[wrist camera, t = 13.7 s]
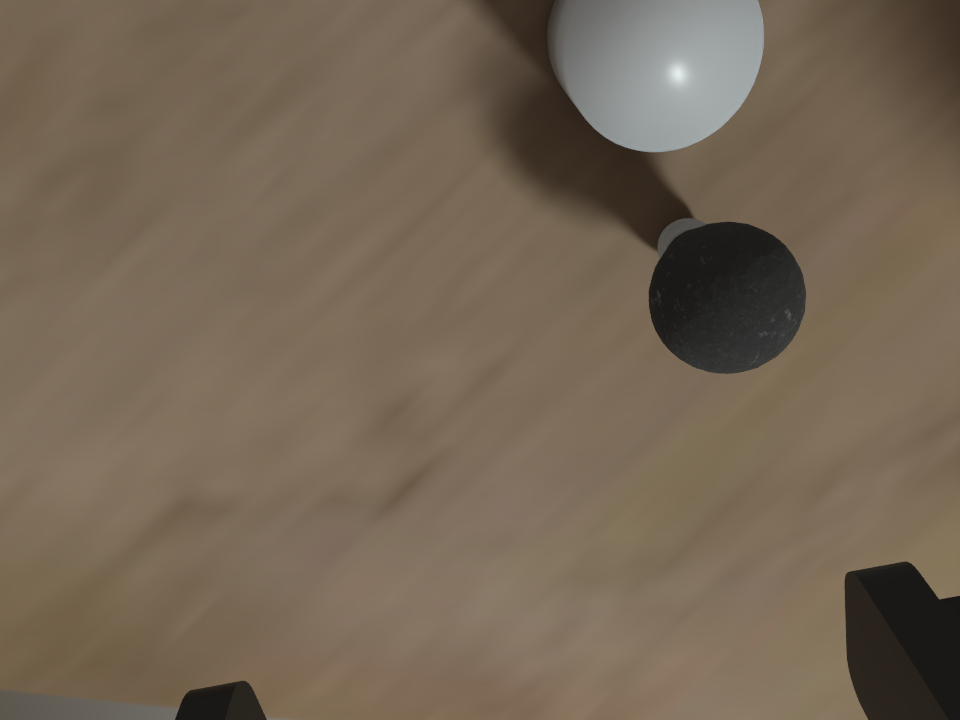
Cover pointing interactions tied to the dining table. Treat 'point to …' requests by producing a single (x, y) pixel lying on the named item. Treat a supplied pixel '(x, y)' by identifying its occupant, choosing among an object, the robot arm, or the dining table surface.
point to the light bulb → (725, 295)
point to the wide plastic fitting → (656, 65)
